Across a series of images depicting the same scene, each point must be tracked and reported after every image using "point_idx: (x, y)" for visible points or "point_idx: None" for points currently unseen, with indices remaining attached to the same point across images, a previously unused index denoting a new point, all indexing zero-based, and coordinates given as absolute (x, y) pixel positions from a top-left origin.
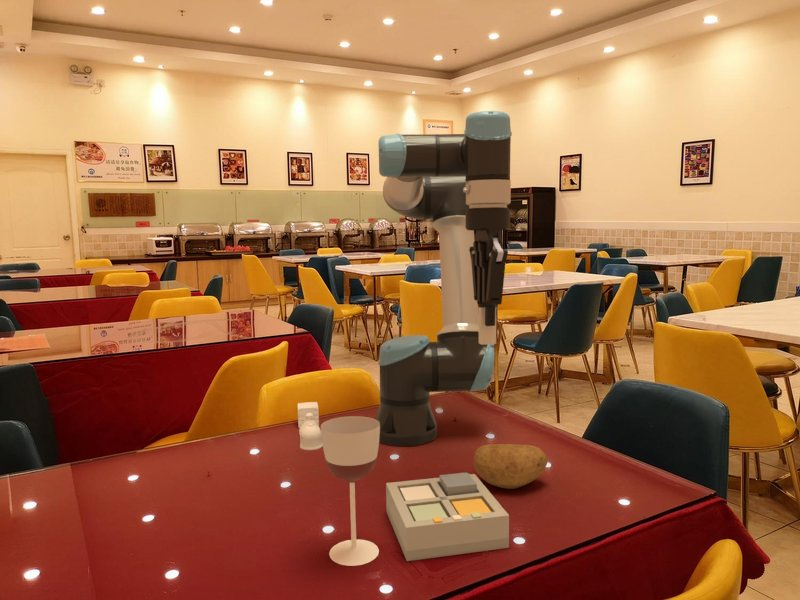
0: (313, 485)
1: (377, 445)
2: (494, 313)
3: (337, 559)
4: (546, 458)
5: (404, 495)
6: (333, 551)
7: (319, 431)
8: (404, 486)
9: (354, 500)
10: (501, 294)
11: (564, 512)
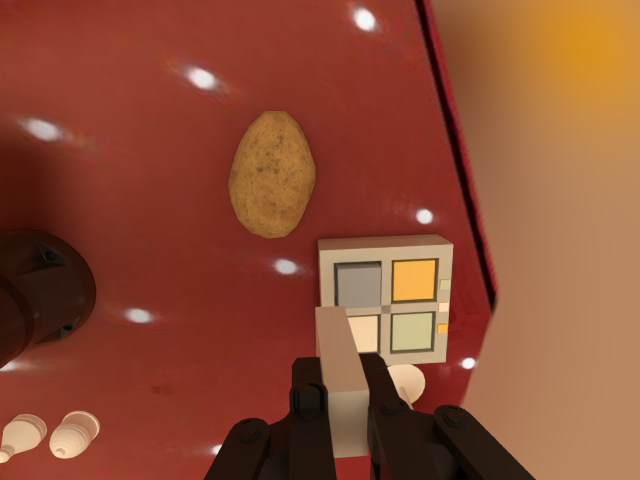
0: (230, 421)
1: None
2: (393, 388)
3: (410, 400)
4: (287, 115)
5: (361, 351)
6: None
7: (70, 433)
8: None
9: None
10: (506, 454)
11: (374, 129)
